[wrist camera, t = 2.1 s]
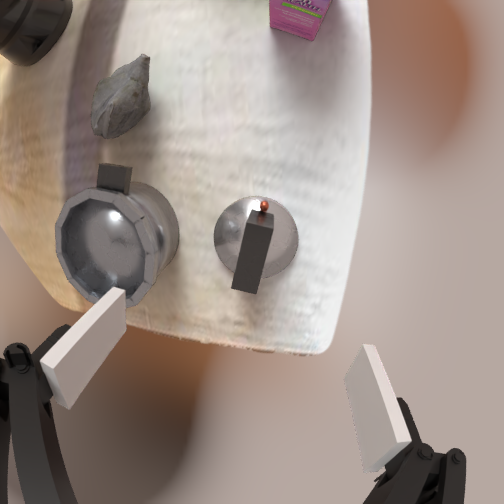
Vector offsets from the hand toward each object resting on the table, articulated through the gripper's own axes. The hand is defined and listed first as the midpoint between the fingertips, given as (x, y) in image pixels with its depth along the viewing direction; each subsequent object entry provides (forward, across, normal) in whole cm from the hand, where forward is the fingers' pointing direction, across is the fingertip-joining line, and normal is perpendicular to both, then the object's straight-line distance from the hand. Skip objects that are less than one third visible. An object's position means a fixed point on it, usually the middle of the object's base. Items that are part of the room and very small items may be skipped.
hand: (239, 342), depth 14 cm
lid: (+21, 0, -1) cm, 21 cm away
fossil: (+21, -19, +14) cm, 32 cm away
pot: (+21, -16, -3) cm, 27 cm away
